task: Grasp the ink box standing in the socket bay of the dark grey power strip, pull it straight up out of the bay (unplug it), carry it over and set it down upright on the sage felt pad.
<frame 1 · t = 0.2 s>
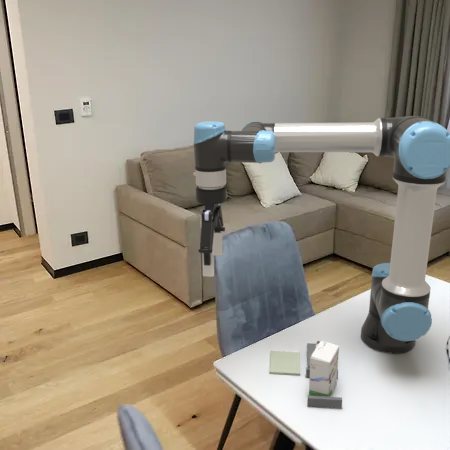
hand: (213, 265, 134), 28 cm above the table, fingers open, 13 cm apart
felt pad: (284, 363, 140), on the table
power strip: (320, 365, 138), on the table
ink box: (322, 392, 128), on the table
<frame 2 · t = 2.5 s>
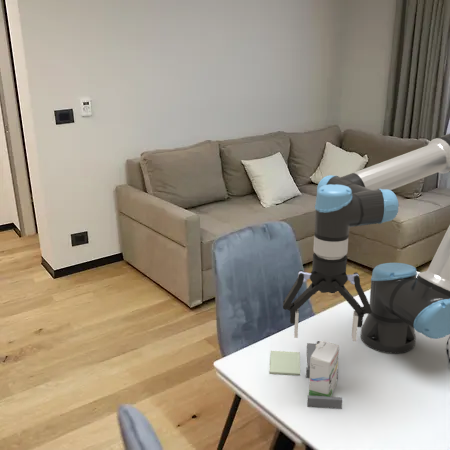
hand: (324, 336, 123), 16 cm above the table, fingers open, 13 cm apart
nothing on the table moved.
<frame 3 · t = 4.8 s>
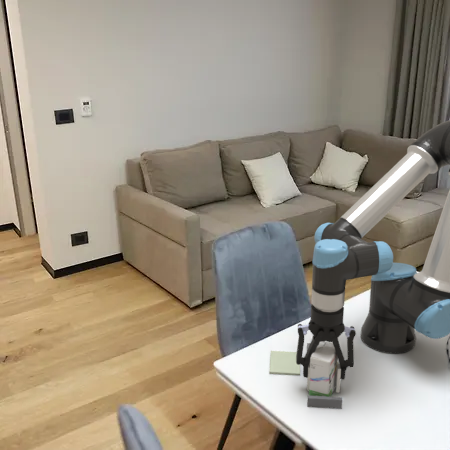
hand: (323, 388, 128), 1 cm above the table, fingers closed on ink box, 6 cm apart
ink box: (322, 392, 128), on the table, touching gripper
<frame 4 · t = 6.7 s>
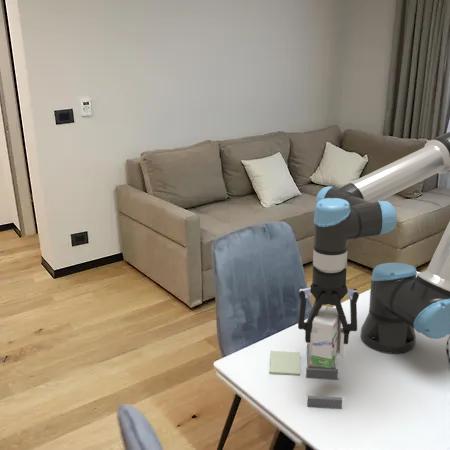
hand: (326, 353, 125), 11 cm above the table, fingers closed on ink box, 6 cm apart
ink box: (325, 358, 125), point 10 cm above the table, touching gripper
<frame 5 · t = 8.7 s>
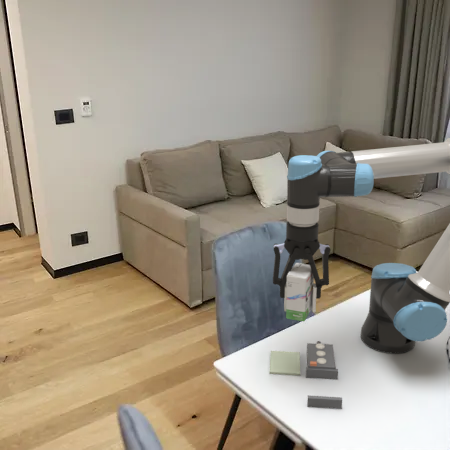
hand: (299, 308, 129), 19 cm above the table, fingers closed on ink box, 6 cm apart
ink box: (299, 313, 130), point 18 cm above the table, touching gripper
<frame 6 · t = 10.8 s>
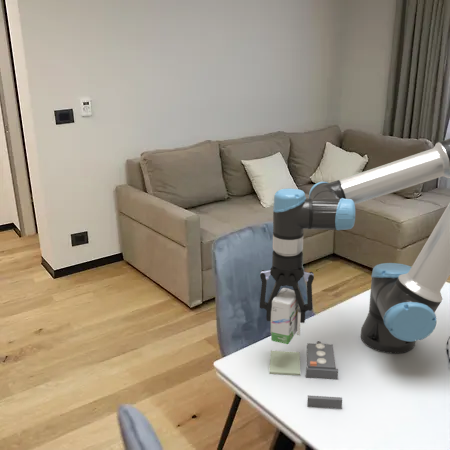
hand: (285, 331, 136), 10 cm above the table, fingers closed on ink box, 6 cm apart
ink box: (285, 335, 137), point 9 cm above the table, touching gripper
when the fingers open (3 cm above the table, at t = 12.8 s): ink box drops 1 cm, resting on felt pad.
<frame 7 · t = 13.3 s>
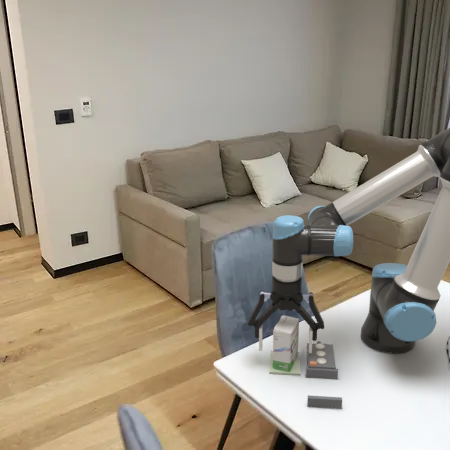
hand: (285, 349, 138), 5 cm above the table, fingers open, 12 cm apart
ink box: (285, 362, 139), resting on felt pad
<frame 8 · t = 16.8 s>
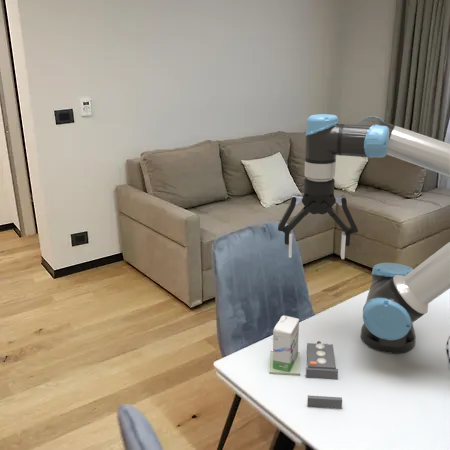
hand: (316, 256, 136), 29 cm above the table, fingers open, 13 cm apart
nothing on the table moved.
at the end: ink box inside the target area on the felt pad (0.2 cm from its centre), point 0.4 cm above the felt pad's base; ink box tilted 0°; the gripper is holding nothing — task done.
